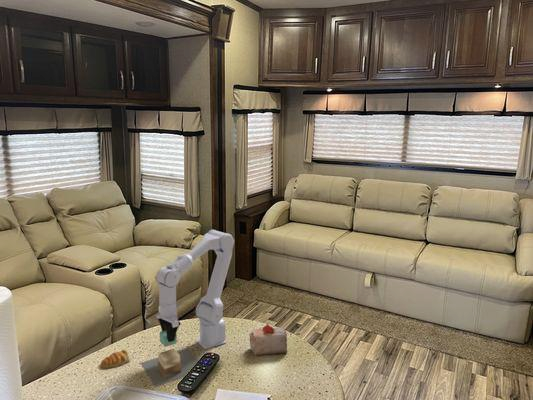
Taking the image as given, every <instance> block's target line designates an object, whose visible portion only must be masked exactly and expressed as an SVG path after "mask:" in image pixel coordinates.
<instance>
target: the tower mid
mask: <svg viewBox="0 0 533 400" xmlns="http://www.w3.org/2000/svg"><path fill="white" fill-rule="evenodd" d="M158 357H159V362H160V363H161V365H162V366H163V368H164V369H166V368H170V367H173V366H176V365H179V364H180V355H179V354H178V353H177V350H176V349H175V348H172V349H168V350H164V351H161V352H158Z"/></svg>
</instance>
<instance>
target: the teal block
mask: <svg viewBox="0 0 533 400" xmlns="http://www.w3.org/2000/svg"><path fill="white" fill-rule="evenodd" d="M159 342H160V343H161V344H162V346H163V347H164V348H165V347H168V346H172V345H176V344H178V336H177V333H176V336H175V340H174V341H172V342H168V339H167V334H166V331H162V330H161V331H159Z"/></svg>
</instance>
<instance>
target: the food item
mask: <svg viewBox="0 0 533 400" xmlns="http://www.w3.org/2000/svg"><path fill="white" fill-rule="evenodd" d="M287 336H288V333H287V331H286V329H285V327H284V326H283V327H273V326H270V325H269V324H268V323H267V324H265V326H263V328H258V329H253V330H252V332H250V333H249V346H250V349H251V350H252V354H253V355H254V356H263V355H270V354H271V355H272V354H283V353H286V354H287V353H288V343H287V341H288V338H287Z"/></svg>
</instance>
